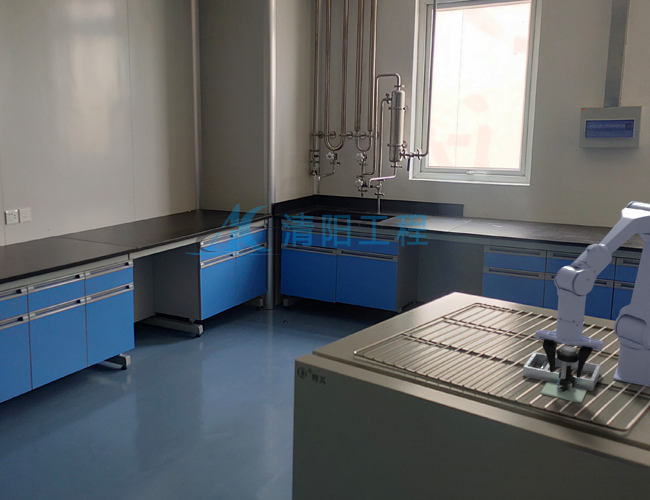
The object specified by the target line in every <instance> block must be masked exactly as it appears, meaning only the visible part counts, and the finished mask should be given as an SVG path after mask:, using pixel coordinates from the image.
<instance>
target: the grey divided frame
mask: <svg viewBox="0 0 650 500" xmlns="http://www.w3.org/2000/svg"><path fill="white" fill-rule="evenodd" d="M545 361H548V358H547V355H546V353H542V352H541V353H540V352H534V351H533V353H532V354H531V356H530V357H529V358H528V360H527V361H526V362H525V364H524V365H523V369H522V377H525V378H531V379H535V380H540V381H544V382H551V383H556V384H557V380H558V379H559V372H557V371H553V372H550V367H549V363H548V364H547V366H546V367H545V369H544V370H543V369H539V368H537V367H535V365H536V363H537V364H541V365H542V364H543V363H544V362H545ZM601 366H602V365H601V364H598V363H594V362H588V361H586V362H585V364H584V366H583V369H582V373H587V374H592V375H591V377H590V378H586V377H582V376H580V378H577V377H576V376H577V375H573V376H574V377H575V381H574V388H579V389H584V390H587V391H591V392H593V391H594V390H595V386H596V384H597V381H598V379H599V377H600V374H601ZM556 367H558V368H561V369H562V362H561V361H560V360H559V359H558V358H557V355H555V368H556ZM577 369H578V362H575V363H572V371H576V372H577Z"/></svg>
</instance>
